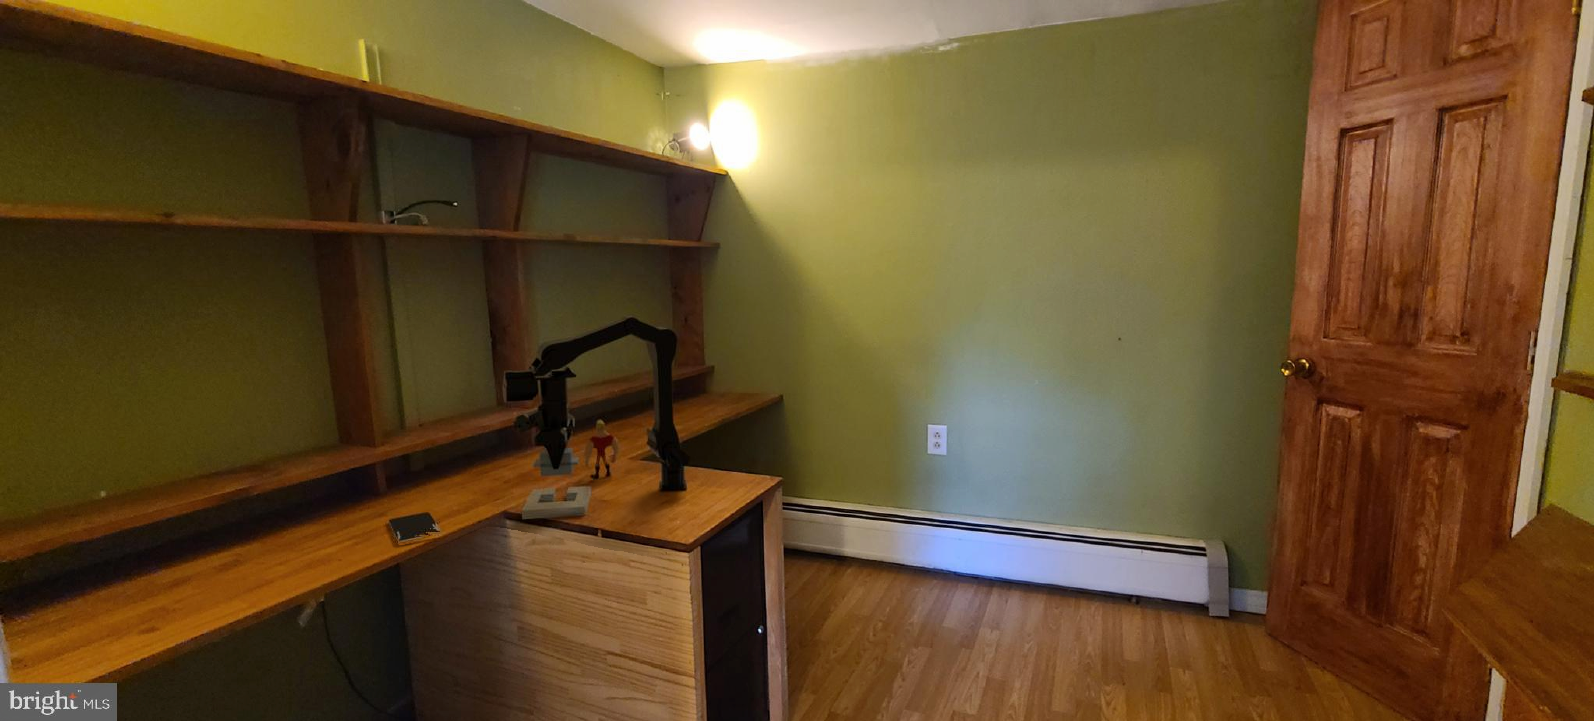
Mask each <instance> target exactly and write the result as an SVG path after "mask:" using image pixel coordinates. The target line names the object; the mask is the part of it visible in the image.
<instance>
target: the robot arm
mask: <svg viewBox="0 0 1594 721" xmlns="http://www.w3.org/2000/svg"><path fill="white" fill-rule="evenodd" d="M631 335H632V336H634V337H635V338H637V339H640V340H642V341H644V342H645V344H646V348H647V353H648V355H649V358H650V361H651V365H652V379H653V381H652V382H653V384H652V385H653V409H654V410H653V411H654V422H653V425H652V427H651V428H646V434H647V435H646V436H647V441H646V446H648V447H649V450H650V451H651V452H652V453H653V454H654V455H655V456H656V458H657V460H659V461H660V470H661V471H660V472H661V473H660V474H661V475H660V477H661V479H660V481H659V491H660V492H665V491H684V490H688V486H687V480H686V476H685V475H686V474H685V472H686V471H685V470H686V469H685V468H686V467H687V466H689V463H690V459H691V456H689V455H688V454H687V453H686V452H685V451H683V449H681V442H680V437H679V433H678V431H677V428H676V425H675V422H674V399H673V398H674V397H673V396H674V395H673V363H674V360H675V358H676V355H677V350H678V349H677V348H678V336H677V333H676V332H674V330H672V329H670V328H666V327H662V326H653V325H650V324H648V323H645V322H644V321H642V320H639V319H638V318H636V317H633V316H630V315H629V316H628V315H627V316H623V317H622V318H620V319H618V320H615V321H612V322H609V323H607V324H605V325H601V326H599V327H597V328H594V329H592V330H589V331H587V332H584V333H581V334H578V335H576V336H571V337H564V338H557V339H553V340H547V341H544V342H542V343H540V345H539V346H538V348H537V350H536V357H535V358H534V360H533V361H532V362H531V364H530V365H529V367H528V368H527V370H515V371H514V370H504V371H503V381H502V385H501V386H502V387H501V388H502V395H503V401H504V403H505V404H507V403H518V402H529V401H534V399H535V398H536V397H537V396H538V395H540V397H539V398H540V403H539V405H538V406H537V409H534V410H531V411H528V412H527V413H525V412H523V413H522V414H518V415H517V416H516V417H515V418H514V419H513V420H512V422H513V424H514V425H513V428H514V430H516V431H517V432H518V434H519V435H520V434H523V433H524V434H525V432H526V431H528V430H531V429H534V428H536V427H538V431H537V432H536V434H535V435H534V437H533V438H534V439H533V440H534V446H536V447H543V448H544V449H547V452H548V454H549V458H550V461H551V464H552V467H553V469H558V468H559V466H560V463H561V460H562V457H563V454H564V451H565V448H567V447H568V445H569V441H570V439H571V437H572V433H573V429H567V428H568V427H569V426H570V428H574V427H575V424H576V423H575V422H576V421H575V420H576V419H575V416H573V414H571V413H569V406H570V400H569V398H568V396H569V395H568V392H569V391H568V379H573V378H576V377H577V374H576V373H574V372H573V371H572V370H571V368H570V367H569V366H567V365H569V364H571V363H572V362H574V361H576V360H577V358H579V357H580V356H582V355H583V354H585V353H587V352H591V351H592V350H596V349H598V348H600V347H602V346H606V345H608V344H610V343H612V342H615V341H617V340H620V339H623V338H625V337H628V336H631ZM539 392H540V394H539Z"/></svg>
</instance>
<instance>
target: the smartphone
mask: <svg viewBox="0 0 1594 721" xmlns="http://www.w3.org/2000/svg"><path fill="white" fill-rule="evenodd" d="M434 519H435V518H433V516H432V515H431V513H430V512H421V513H416V514H410V515H404V516H400V517H394V518H389V519H388V525H389V524H390V525H389V527H390V526H391V527H390V529H391V528H392V530H393V532H394V534H395V536H396V538H397V540H398V542H405V541H409V540H412V539H419V538H421V537H422V536H419V535H430V534H428V533H426V532H440V533H441V532H442V530H441V529H440V527H439V525H438V524H437V522H436V521H435V520H434ZM430 528H431V529H430ZM433 528H435V529H433ZM392 530H391V531H392ZM393 532H392V533H393ZM440 533H436V534H440ZM394 534H393V535H394ZM436 534H431V535H436ZM395 536H394V537H395Z"/></svg>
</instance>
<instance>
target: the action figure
mask: <svg viewBox="0 0 1594 721" xmlns="http://www.w3.org/2000/svg"><path fill="white" fill-rule="evenodd" d="M595 424H596V425H595V427H596V428H595V429H596V434H594V435H592V436H591V437H590V438H588V441H586V444H585V450H584V452H583V457H584V460H585V461H584V465H585V467H586V468H590V466H589V465H588V464H589V461H590V458H591V457H592V453H593V449H596V463H595V465H594V470H595V474H593V473H592V474H590V477H591V478H593V479H594V478H596V479H599V478H600V469H601V466H600V461H601V459H602V462H603V464H604V467H605V468H606V476H608V477H609V476H611V472H610V471H611V470H610V467H611V466H610V463H611V464H614V463H616V461H617V456H618V454H619V452H620V446H619V442H618V439H617V437H615V436H614V435H613V434H611V433H608V432H607V431H606V430H605V429H606V425H605V422H604V421H603V420H602V419H598V420H597V421H596V423H595ZM608 447H611V448H612V450H613V454H610V455H608V458H610V459H609V461H610V463H609V461H608V460H607V458H606V457H607V455H606V449H607V448H608Z"/></svg>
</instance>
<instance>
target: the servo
mask: <svg viewBox="0 0 1594 721" xmlns="http://www.w3.org/2000/svg"><path fill="white" fill-rule="evenodd" d="M573 450H574V448H573V447H568V448H565V451H564V454H563V457H562V460H561V463H560V466H559V468H558V469H553V467H552V464H551V461H550V458H549V454H548V452H547V449H546V448H544V449H542V450H541V452H540V454H539V458H536V460H535V462H534V463H533V468H540V476H541V477H547V476H548V477H549V476H551V477H552V476H565V475H566V476H568V475H572V474H573V472H574V466H578V465H579V461H580V457H579V456H575V457H574V451H573Z"/></svg>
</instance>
